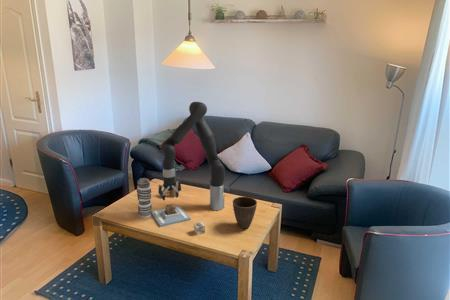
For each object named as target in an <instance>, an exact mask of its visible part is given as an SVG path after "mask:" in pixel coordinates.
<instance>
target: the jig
mask: <svg viewBox="0 0 450 300" xmlns="http://www.w3.org/2000/svg"><path fill="white" fill-rule="evenodd" d="M174 206H175V213H176V214H171V215H166V209H165V208H162V209H161V208H160V209H156V210H152V213H151V214H152V215H151V216H152V217H153V218H154V220H155V221H156V223H157V224H158V226H159V227H165V226H169V225H174V224H179V223H182V222H188V221H191V217H190V215H188V213H187V212H186V211H185V210H184V209H183V208H182V206H180V205H174Z"/></svg>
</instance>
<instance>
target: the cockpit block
mask: <svg viewBox="0 0 450 300" xmlns="http://www.w3.org/2000/svg"><path fill="white" fill-rule="evenodd" d="M193 232H194V233H195V234H196V236H199V235H202V234H205V232H206V225H205V224H204V222H202V221H200V222H196V223H193Z"/></svg>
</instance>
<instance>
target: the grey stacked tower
mask: <svg viewBox="0 0 450 300" xmlns="http://www.w3.org/2000/svg"><path fill="white" fill-rule="evenodd" d="M136 183H137V187H136V188H135V189H136V197H137V201H138V203H137V204H138V205H137V209H138V211H137V212H138V217H140V218H142V219H143V218H149V217H151V216H153V215H152V214H151V213H152V211H153V209H152V208H153V207H152V203H151V200H152V188H151V185H150V184H151V180H149V178H146V177H141V178H139V179H137V181H136Z"/></svg>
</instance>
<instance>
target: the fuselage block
mask: <svg viewBox="0 0 450 300" xmlns="http://www.w3.org/2000/svg"><path fill="white" fill-rule="evenodd" d="M175 206H176V205H174V204H173V203H171V204H166V205H165V208H164V209H166V215H171V214H176V213H175Z"/></svg>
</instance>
